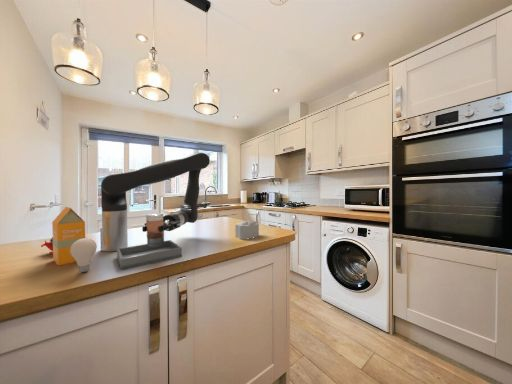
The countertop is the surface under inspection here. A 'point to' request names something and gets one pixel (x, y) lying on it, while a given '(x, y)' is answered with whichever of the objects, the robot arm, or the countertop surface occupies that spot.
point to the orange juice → (66, 235)
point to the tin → (154, 230)
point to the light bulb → (83, 253)
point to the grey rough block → (246, 229)
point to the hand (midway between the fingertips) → (151, 229)
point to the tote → (147, 254)
